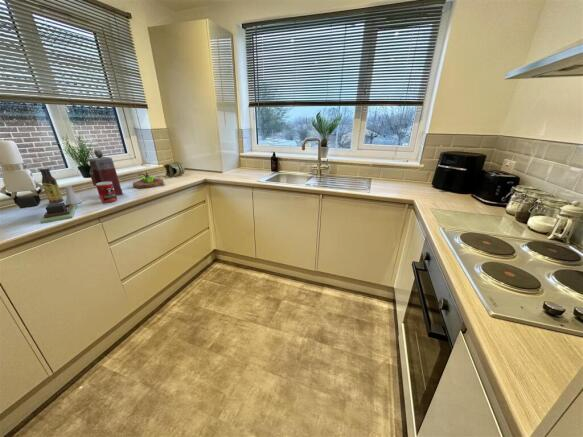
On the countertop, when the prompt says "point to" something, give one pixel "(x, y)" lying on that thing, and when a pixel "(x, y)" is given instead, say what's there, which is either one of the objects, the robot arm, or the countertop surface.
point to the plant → (147, 182)
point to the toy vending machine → (104, 171)
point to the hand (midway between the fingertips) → (29, 203)
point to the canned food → (106, 192)
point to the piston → (174, 169)
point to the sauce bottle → (50, 186)
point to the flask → (71, 196)
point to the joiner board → (60, 214)
